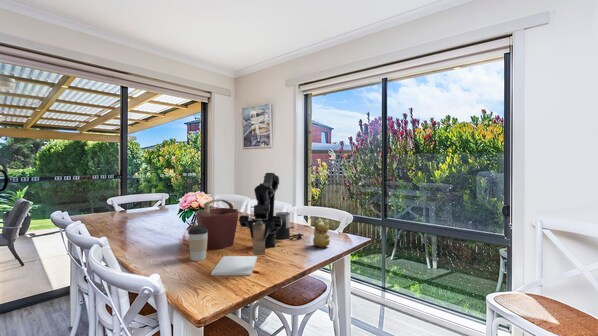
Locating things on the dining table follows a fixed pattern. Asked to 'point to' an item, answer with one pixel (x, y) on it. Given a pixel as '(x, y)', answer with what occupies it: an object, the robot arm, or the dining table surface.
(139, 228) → the dining table surface
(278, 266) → the dining table surface
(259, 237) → the pepper mill
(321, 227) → the decorative figurine
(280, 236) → the milk frother
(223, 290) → the dining table surface
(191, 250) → the coffee cup
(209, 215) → the bucket
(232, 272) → the ceramic tile
